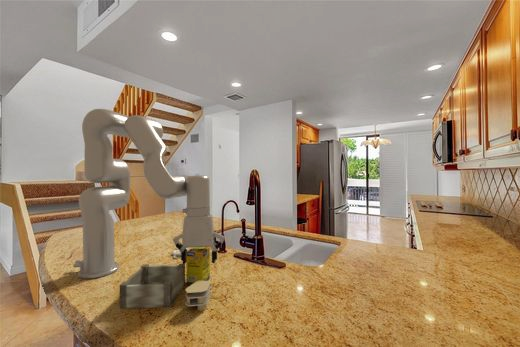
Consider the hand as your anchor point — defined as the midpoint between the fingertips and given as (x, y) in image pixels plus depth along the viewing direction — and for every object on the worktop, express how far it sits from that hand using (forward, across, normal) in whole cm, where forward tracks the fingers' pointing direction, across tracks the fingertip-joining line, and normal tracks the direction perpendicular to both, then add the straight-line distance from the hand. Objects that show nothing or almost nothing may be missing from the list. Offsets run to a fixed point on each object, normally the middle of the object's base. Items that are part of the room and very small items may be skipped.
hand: (199, 262), depth 77 cm
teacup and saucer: (+7, -13, +27) cm, 31 cm away
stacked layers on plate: (+7, +3, -14) cm, 16 cm away
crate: (+6, -11, -8) cm, 15 cm away
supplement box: (+7, 0, 0) cm, 7 cm away
